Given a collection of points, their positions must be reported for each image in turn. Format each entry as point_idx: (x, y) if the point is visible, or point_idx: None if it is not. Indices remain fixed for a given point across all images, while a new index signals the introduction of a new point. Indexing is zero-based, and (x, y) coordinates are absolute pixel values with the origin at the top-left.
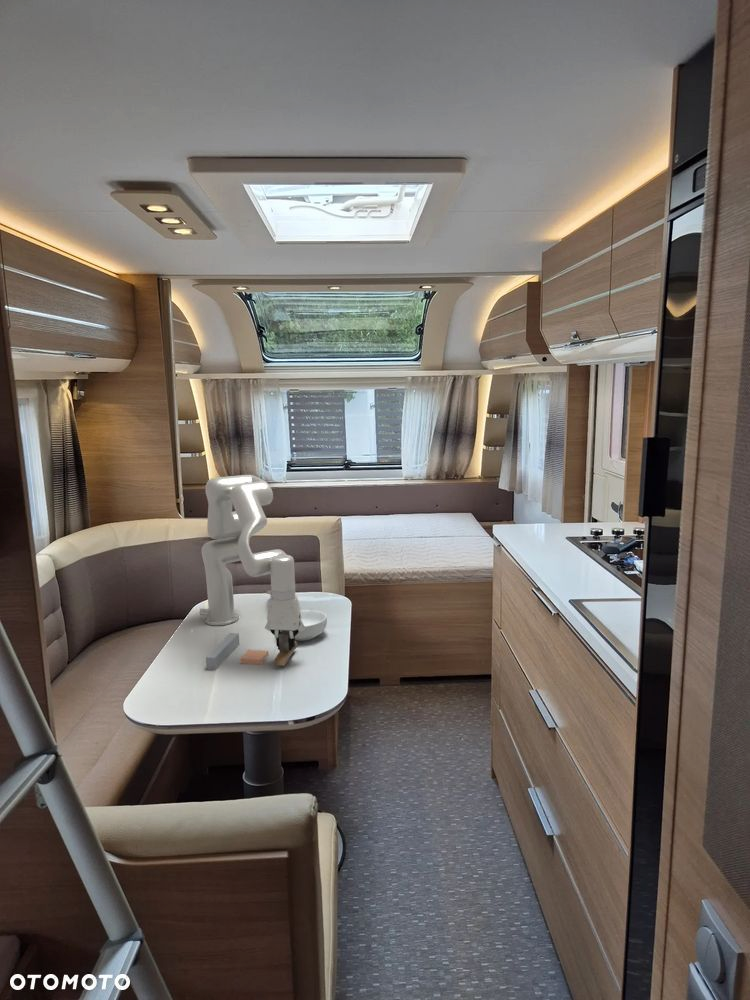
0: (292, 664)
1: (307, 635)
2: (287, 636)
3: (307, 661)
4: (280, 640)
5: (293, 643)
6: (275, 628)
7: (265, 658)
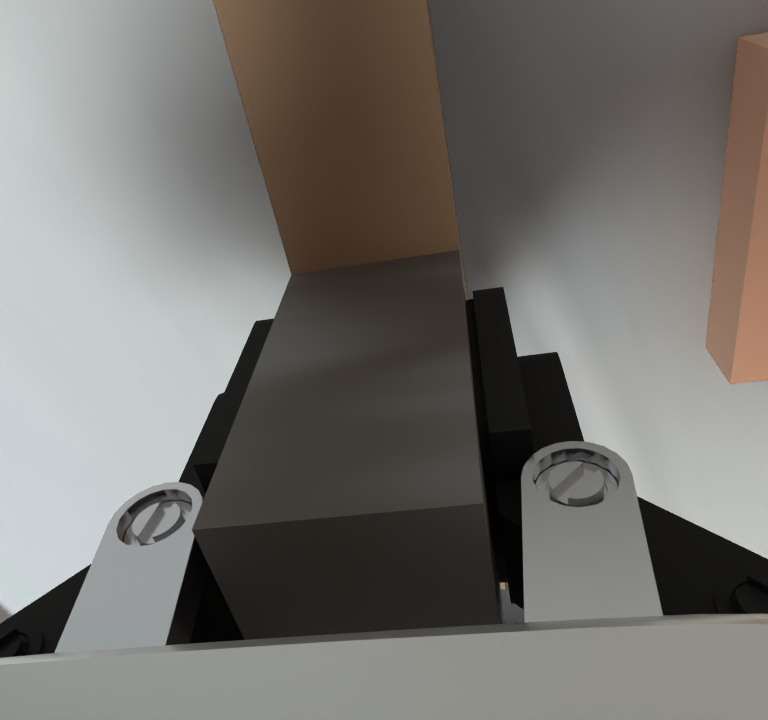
0: (238, 166)
1: None
2: (217, 490)
3: (107, 300)
4: (430, 386)
5: (205, 432)
6: (611, 674)
7: (719, 238)
